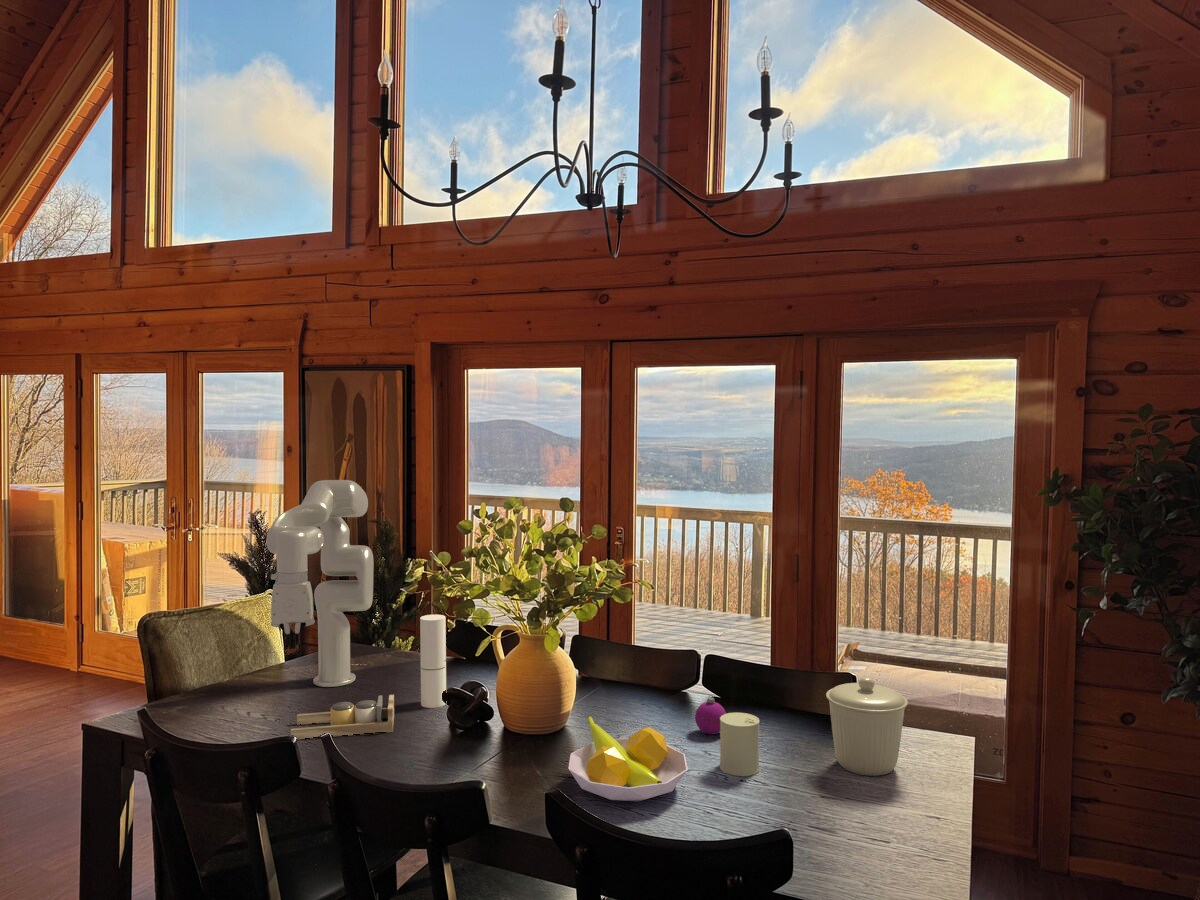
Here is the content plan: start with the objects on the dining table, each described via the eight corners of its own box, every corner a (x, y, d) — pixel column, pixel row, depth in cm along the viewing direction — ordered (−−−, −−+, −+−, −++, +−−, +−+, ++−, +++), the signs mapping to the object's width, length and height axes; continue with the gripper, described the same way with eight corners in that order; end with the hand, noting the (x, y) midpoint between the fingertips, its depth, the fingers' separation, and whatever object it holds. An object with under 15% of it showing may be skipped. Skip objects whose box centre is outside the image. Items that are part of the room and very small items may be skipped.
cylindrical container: (449, 699, 239) (448, 614, 238) (442, 708, 232) (441, 620, 231) (425, 699, 240) (424, 614, 239) (417, 707, 233) (416, 620, 232)
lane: (297, 723, 220) (297, 701, 220) (394, 716, 226) (393, 694, 225) (290, 740, 208) (290, 716, 208) (392, 731, 214) (392, 709, 214)
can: (750, 779, 185) (750, 727, 184) (713, 770, 190) (713, 719, 189) (765, 765, 192) (765, 714, 192) (728, 757, 197) (729, 707, 197)
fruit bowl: (708, 804, 172) (708, 751, 172) (584, 822, 165) (584, 767, 164) (661, 754, 199) (661, 708, 199) (552, 767, 192) (552, 719, 191)
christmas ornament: (701, 740, 208) (701, 701, 207) (690, 728, 216) (690, 691, 215) (731, 737, 210) (731, 698, 209) (719, 726, 218) (719, 689, 217)
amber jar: (334, 724, 220) (333, 701, 219) (356, 723, 220) (356, 701, 220) (328, 732, 214) (328, 709, 213) (351, 732, 214) (351, 708, 214)
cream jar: (354, 723, 220) (354, 701, 220) (377, 721, 222) (377, 698, 222) (354, 731, 214) (354, 708, 214) (378, 729, 216) (378, 705, 216)
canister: (817, 751, 201) (818, 666, 200) (892, 752, 200) (893, 666, 199) (836, 783, 183) (837, 689, 182) (918, 784, 182) (919, 690, 181)
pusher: (378, 717, 223) (378, 695, 223) (382, 717, 223) (382, 695, 223) (377, 729, 215) (376, 706, 214) (381, 728, 215) (380, 706, 215)
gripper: (259, 581, 208) (259, 653, 208) (320, 579, 211) (321, 650, 212) (264, 576, 215) (265, 645, 216) (324, 574, 218) (324, 642, 219)
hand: (293, 647), depth 214 cm, fingers closed
